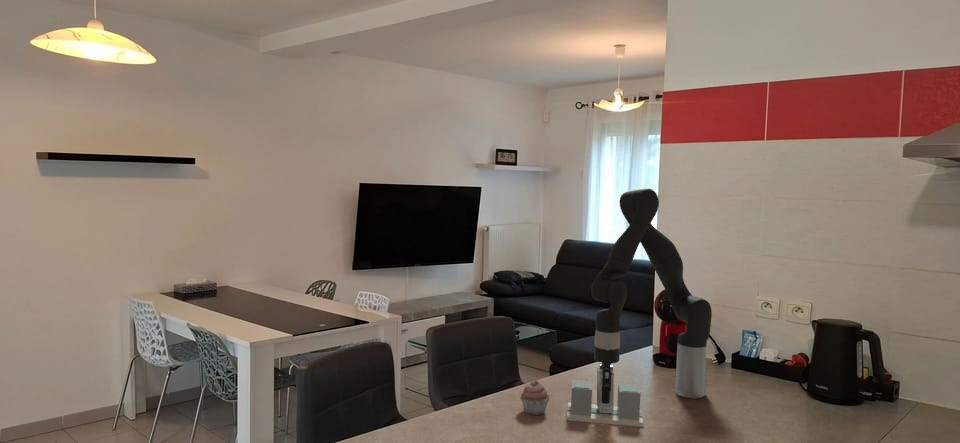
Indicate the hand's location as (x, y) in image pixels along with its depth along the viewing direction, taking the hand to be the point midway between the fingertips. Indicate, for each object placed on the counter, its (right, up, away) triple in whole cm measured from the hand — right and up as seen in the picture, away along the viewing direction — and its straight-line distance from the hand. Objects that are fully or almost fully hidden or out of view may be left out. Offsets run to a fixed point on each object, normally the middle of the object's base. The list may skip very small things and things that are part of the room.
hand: (605, 399), depth 189 cm
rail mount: (0, -5, 0) cm, 5 cm away
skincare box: (0, -3, 0) cm, 3 cm away
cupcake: (-21, -5, +2) cm, 22 cm away
